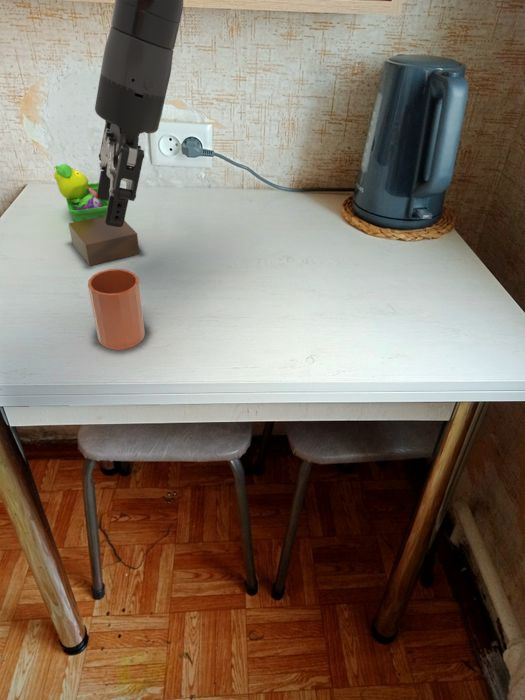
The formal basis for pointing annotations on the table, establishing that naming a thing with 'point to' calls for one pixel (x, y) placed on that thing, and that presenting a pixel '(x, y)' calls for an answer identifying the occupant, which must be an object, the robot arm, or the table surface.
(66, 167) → the fruit basket
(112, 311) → the cup
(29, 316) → the table surface
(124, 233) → the block
